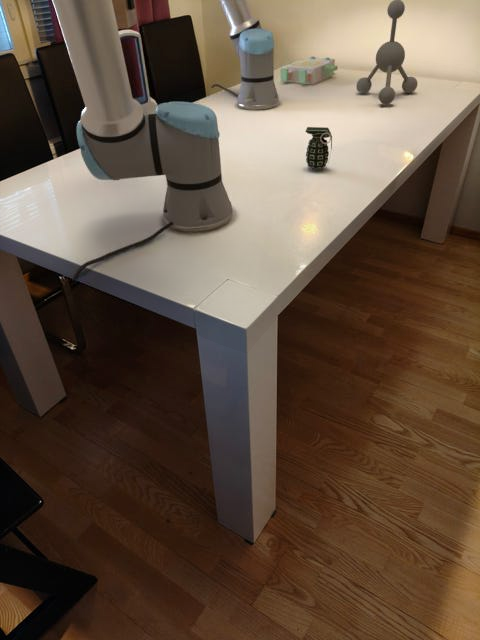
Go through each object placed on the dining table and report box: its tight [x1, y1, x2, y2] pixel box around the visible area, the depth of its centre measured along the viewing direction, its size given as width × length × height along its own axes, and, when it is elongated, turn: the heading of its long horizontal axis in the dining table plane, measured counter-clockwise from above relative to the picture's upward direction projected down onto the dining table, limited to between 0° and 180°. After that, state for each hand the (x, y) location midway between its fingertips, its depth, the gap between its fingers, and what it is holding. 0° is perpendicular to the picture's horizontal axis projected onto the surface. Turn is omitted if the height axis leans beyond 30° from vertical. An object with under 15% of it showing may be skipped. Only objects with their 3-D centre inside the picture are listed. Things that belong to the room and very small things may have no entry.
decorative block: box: [280, 56, 338, 85], centre depth 206 cm, size 26×6×20 cm
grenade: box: [305, 126, 333, 171], centre depth 123 cm, size 7×6×10 cm
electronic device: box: [118, 29, 159, 114], centre depth 140 cm, size 12×8×30 cm, turn 105°
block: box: [112, 0, 138, 30], centre depth 107 cm, size 9×7×10 cm
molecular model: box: [356, 0, 418, 105], centre depth 169 cm, size 24×22×30 cm
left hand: (114, 9), depth 108 cm, fingers closed on block, 7 cm apart
